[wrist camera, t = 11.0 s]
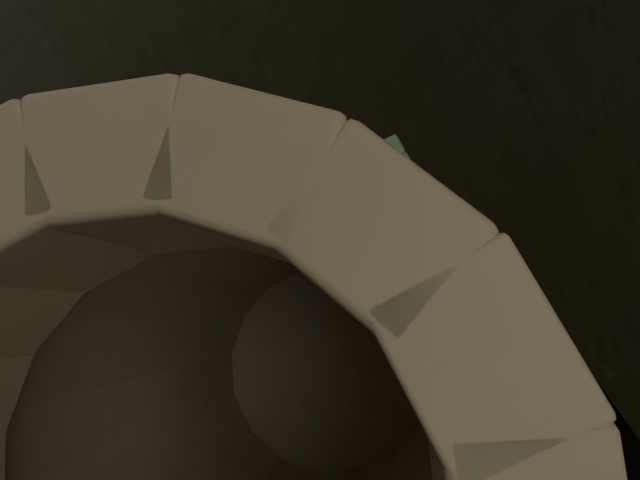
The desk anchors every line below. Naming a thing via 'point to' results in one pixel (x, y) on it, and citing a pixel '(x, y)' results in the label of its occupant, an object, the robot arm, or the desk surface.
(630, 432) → the robot arm
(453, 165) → the desk surface
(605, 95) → the desk surface
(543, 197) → the desk surface
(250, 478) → the jar
